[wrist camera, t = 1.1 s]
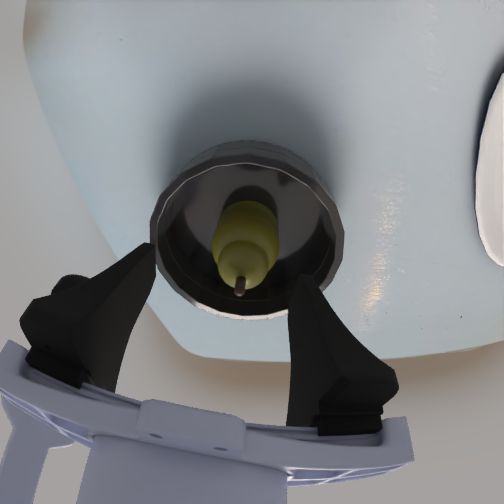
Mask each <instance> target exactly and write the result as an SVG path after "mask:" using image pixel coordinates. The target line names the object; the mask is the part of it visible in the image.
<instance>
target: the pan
mask: <svg viewBox="0 0 504 504" xmlns="http://www.w3.org/2000/svg"><path fill="white" fill-rule="evenodd" d="M239 201H255V202H259V203H261V204H263V205H265V206H266V207H268V208H269V209H270V210H271V211H272V212H273V213H274V215H275V216H276V219H277V221H278V228H279V253H278V257H277V260H276V262H275V264H274V265H273V267H272V268H271V269H270V270H269V271H268V272H267V274H266V276H265V278H264V279H263V281H262V282H261V283H260V284H258V285H257V286H255V287H253V288H250V289H245V293H244V294H243V295H242V296H237V295H236V294H235V293H234V288H233V287H231V286H229V285H228V284H227V283H226V282H225V281H224V280H223V279H222V278H221V276H220V274H219V271H218V265H217V263H216V262H215V260H214V257H213V253H212V240H213V236H214V233H215V230H216V227H217V224H218V221H219V218H220V216H221V214H222V212H223V211H224V210H225V209H226V208H227V207H228V206H230V205H231V204H233V203H236V202H239ZM150 244H155V252H156V265H157V267H158V270H159V271H160V273H161V274H162V275H163V277H164V278H165V279H166V281H167V282H168V283H169V284H170V286H171V287H172V288H173V289H174V291H176V292H177V293H178V294H180V295H181V296H182V297H183V298H185V299H186V300H187V301H189V302H190V303H191V304H193V305H194V306H196V307H199V308H201V309H203V310H206V311H208V312H210V313H212V314H215V315H218V316H223V317H228V318H233V319H239V320H262V319H271V318H275V317H279V316H282V315H286V314H288V302H289V300H290V297H291V295H292V292H293V290H294V287H295V285H296V282H297V280H298V277H299V275H300V273H302V274H307V275H312V277H313V278H314V280H315V282H316V283H317V285H318V287H319V288H320V290H321V292H323V291H324V290H325V289H326V288H327V287H328V286H329V284H330V283H331V282H332V281H333V278H334V276H335V274H336V272H337V270H338V268H339V266H340V264H341V261H342V258H343V248H344V229H343V226H342V222H341V219H340V216H339V213H338V210H337V207H336V204H335V202H334V200H333V198H332V196H331V194H330V192H329V190H328V188H327V186H326V184H325V183H324V182H323V181H322V179H321V178H320V176H319V175H318V174H317V172H316V171H315V170H314V169H313V168H312V167H311V166H310V165H309V164H308V163H307V162H306V161H304V160H303V159H302V158H301V157H299V156H298V155H296V154H294V153H293V152H291V151H289V150H287V149H285V148H282V147H280V146H277V145H274V144H270V143H266V142H259V141H235V142H229V143H225V144H222V145H218V146H215V147H213V148H211V149H209V150H206V151H204V152H203V153H201V154H200V155H198V156H196V157H195V158H193V159H192V160H191V161H190V162H189V163H188V164H187V165H186V166H185V167H184V168H183V169H182V171H181V172H180V173H179V174H178V175H177V176H176V177H175V178H174V179H173V180H172V181H171V183H170V184H169V185H168V186H167V187H166V188H165V190H164V191H163V192H162V193H161V195H160V196H159V199H158V201H157V204H156V206H155V209H154V211H153V214H152V216H151V219H150Z"/></svg>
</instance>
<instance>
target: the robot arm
mask: <svg viewBox="0 0 504 504" xmlns="http://www.w3.org/2000/svg"><path fill="white" fill-rule="evenodd" d="M155 277H156V252H155V244H150V243H145V242H144V243H143V244H141V245H140V246H138V247H137V248H136V249H134V250H133V251H132V252H130V253H129V254H128V255H126V256H125V257H123V258H122V259H121V260H119V261H118V262H116V263H115V264H113V265H112V266H110V267H109V268H108V269H106V270H104V271H103V272H101V273H100V274H98V275H96V276H94V277H92V278H91V279H89V280H87V281H85V282H83V283H80V284H78V285H76V286H74V287H72V288H69V289H67V290H64V291H61V292H58V293H55V294H52V295H49V296H45V297H41V298H37V299H33V301H32V302H31V303H30V305H29V306H28V307H27V309H26V310H25V312H24V313H23V315H22V316H21V318H20V326H21V329H22V330H23V332H24V334H25V336H26V338H27V340H28V341H29V343H30V345H31V346H32V347H31V349H30V350H27V349H25V348H24V347H23V346H21V345H19V344H17V343H15V342H13V341H12V340H8V341H7V343H6V344H5V346H4V348H3V349H2V351H1V353H0V393H1V394H2V396H1V397H2V405H3V408H4V410H5V412H6V414H7V416H8V418H9V420H10V422H11V424H12V427H13V430H12V432H11V435H10V437H9V440H8V443H7V446H6V449H5V452H4V455H3V458H2V461H1V464H0V504H33V500H34V496H35V492H36V489H37V485H38V482H39V478H40V475H41V472H42V468H43V465H44V462H45V459H46V456H47V453H48V450H49V449H54V448H63V447H69V446H71V445H73V444H74V443H75V442H76V441H77V442H79V443H81V444H83V445H85V446H88V447H90V448H91V449H90V453H89V456H88V460H87V463H86V467H85V471H84V474H83V478H82V482H81V486H80V490H79V494H78V498H77V503H76V504H287V487H288V486H306V485H318V484H327V483H335V482H342V481H350V480H356V479H361V478H367V477H374V476H379V475H384V474H386V473H388V472H391V471H394V470H396V469H398V468H400V467H403V466H405V465H407V464H409V463H411V462H413V461H414V455H413V449H412V443H411V438H410V433H409V428H408V423H407V418H406V417H405V416H404V417H394V418H387V419H384V420H381V416H380V415H381V414H383V407H382V406H383V405H384V404H385V403H387V402H388V401H389V400H390V399H391V398H393V397H394V395H395V394H396V393H397V391H398V390H399V385H398V381H397V377H396V374H395V371H394V369H392V368H391V367H389V366H388V365H387V364H385V363H384V362H382V361H381V360H380V359H378V358H377V357H376V356H375V355H373V354H372V353H371V352H370V351H369V350H368V349H367V348H365V347H364V346H363V345H362V344H361V343H360V342H359V341H358V340H357V339H356V338H355V337H354V336H353V335H352V333H351V332H350V331H349V330H348V329H347V328H346V326H345V325H344V324H343V323H342V321H341V320H340V319H339V317H338V316H337V315H336V313H335V312H334V311H333V309H332V308H331V306H330V305H329V303H328V301H327V300H326V298H325V297H324V295H323V293H322V292H321V290H320V288H319V287H318V285H317V283H316V282H315V280H314V278H313V277H312V275H307V274H302V273H300V275H299V277H298V280H297V282H296V285H295V287H294V290H293V292H292V295H291V297H290V300H289V302H288V330H289V342H290V354H291V377H290V393H289V403H288V414H287V421H286V426H275V425H262V424H253V423H245V422H244V420H242V419H240V418H238V417H236V416H233V415H230V414H226V413H220V412H214V411H208V410H203V409H198V408H193V407H188V406H183V405H179V404H175V403H170V402H166V401H161V400H154V399H151V400H145V401H143V402H141V401H138V400H135V399H131V398H128V397H125V396H121V395H119V394H115V389H116V384H117V379H118V375H119V371H120V367H121V363H122V360H123V356H124V353H125V349H126V346H127V343H128V340H129V337H130V334H131V332H132V329H133V327H134V325H135V323H136V320H137V318H138V316H139V314H140V312H141V310H142V308H143V306H144V304H145V302H146V300H147V298H148V296H149V294H150V292H151V289H152V286H153V283H154V280H155Z"/></svg>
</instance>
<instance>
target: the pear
mask: <svg viewBox="0 0 504 504" xmlns="http://www.w3.org/2000/svg"><path fill="white" fill-rule="evenodd" d="M212 253H213V257H214V260H215V262H216V263H217V265H218V271H219V274H220V276H221V278H222V279H223V280H224V281H225V282H226V283H227V284H228V285H229V286H231V287H233V288H234V293H235V294H236V295H237V296H242V295H243V294H244V293H245V289H250V288H253V287H255V286H257V285H258V284H260V283H261V282H262V281H263V279H264V278H265V276H266V274H267V272H268V271H269V270H270V269H271V268H272V267H273V265H274V264H275V262H276V260H277V257H278V253H279V228H278V221H277V219H276V216H275V215H274V213H273V212H272V211H271V210H270V209H269V208H268V207H266V206H265V205H263V204H261V203H259V202H255V201H239V202H236V203H233V204H231V205H230V206H228V207H227V208H226V209H225V210H224V211H223V212H222V214H221V216H220V218H219V221H218V224H217V227H216V230H215V233H214V236H213V240H212Z"/></svg>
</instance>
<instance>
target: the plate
mask: <svg viewBox="0 0 504 504" xmlns="http://www.w3.org/2000/svg"><path fill="white" fill-rule="evenodd" d="M475 213H476V219H477V226H478V233H479V236H480V239H481V241H482V243H483V245H484V248H485V250H486V252H487V254H488V255H489V256H490V257H491V258H492V259H493V260H494V261H495V262H496V263H497V264H498V265H500V266H504V71H503V72H502V74H501V75H500V77H499V79H498V82H497V84H496V87H495V89H494V91H493V93H492V96H491V98H490V100H489V102H488V107H487V111H486V115H485V119H484V123H483V127H482V130H481V134H480V139H479V148H478V156H477V163H476V170H475Z"/></svg>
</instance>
